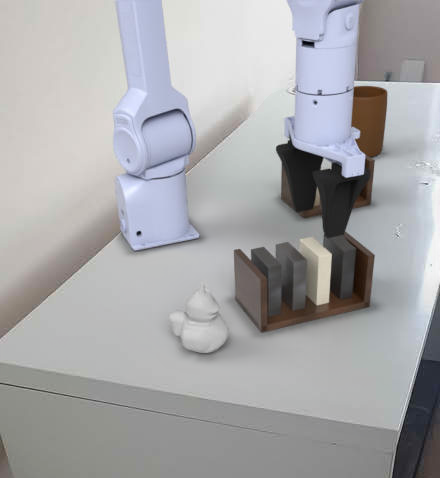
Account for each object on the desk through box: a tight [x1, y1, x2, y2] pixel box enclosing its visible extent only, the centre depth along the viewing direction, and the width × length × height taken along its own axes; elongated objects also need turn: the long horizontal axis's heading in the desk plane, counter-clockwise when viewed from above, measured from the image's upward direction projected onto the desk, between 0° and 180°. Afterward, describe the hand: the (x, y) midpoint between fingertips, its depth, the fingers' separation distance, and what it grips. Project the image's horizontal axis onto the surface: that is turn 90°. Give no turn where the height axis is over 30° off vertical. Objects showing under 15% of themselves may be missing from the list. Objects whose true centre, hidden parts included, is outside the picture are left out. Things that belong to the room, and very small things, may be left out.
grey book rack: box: [233, 230, 376, 333], centre depth 82 cm, size 14×8×7 cm, turn 110°
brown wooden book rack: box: [280, 154, 376, 219], centre depth 104 cm, size 11×8×7 cm
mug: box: [351, 85, 388, 158], centre depth 119 cm, size 12×8×9 cm, turn 75°
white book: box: [298, 236, 332, 305], centre depth 82 cm, size 2×5×6 cm, turn 20°
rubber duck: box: [168, 281, 230, 354], centre depth 75 cm, size 5×7×8 cm
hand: (318, 222), depth 79 cm, fingers open, 7 cm apart
